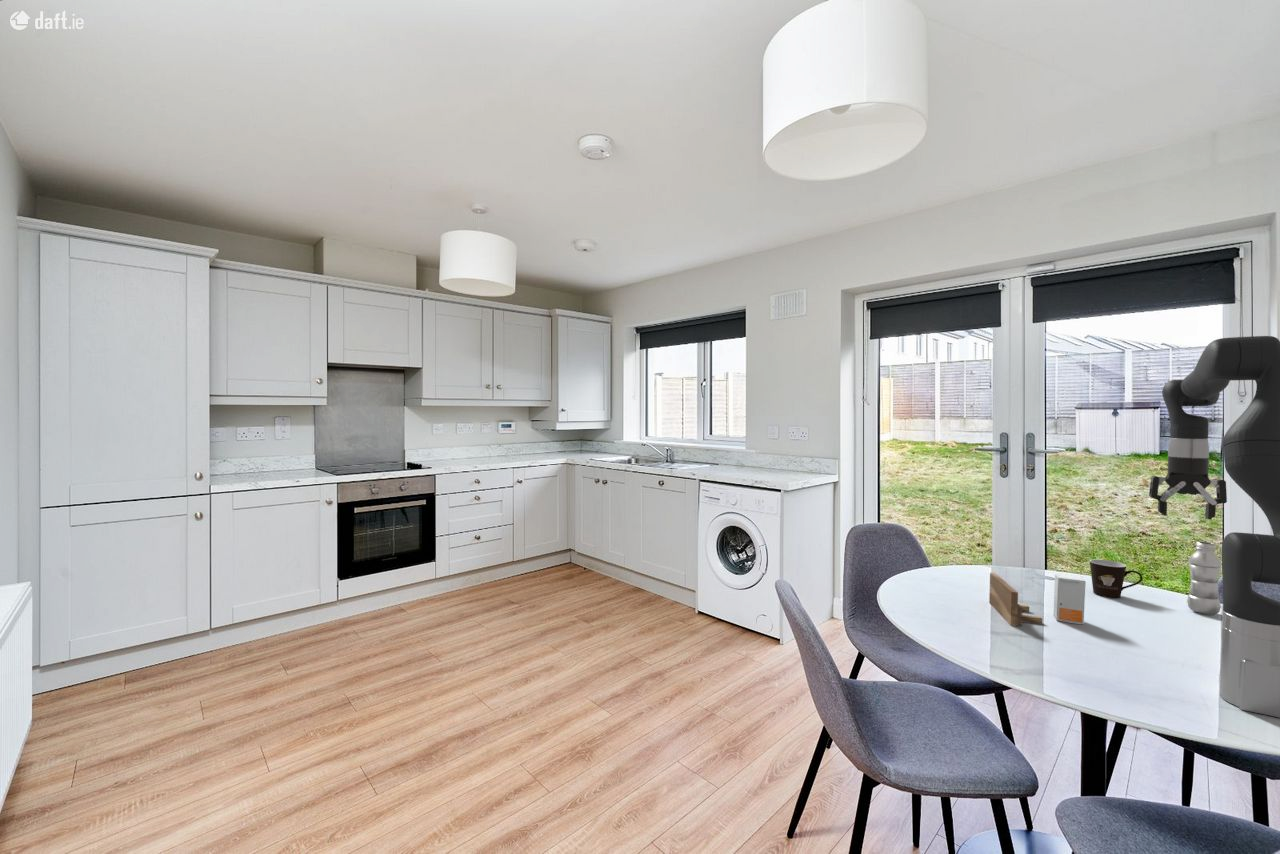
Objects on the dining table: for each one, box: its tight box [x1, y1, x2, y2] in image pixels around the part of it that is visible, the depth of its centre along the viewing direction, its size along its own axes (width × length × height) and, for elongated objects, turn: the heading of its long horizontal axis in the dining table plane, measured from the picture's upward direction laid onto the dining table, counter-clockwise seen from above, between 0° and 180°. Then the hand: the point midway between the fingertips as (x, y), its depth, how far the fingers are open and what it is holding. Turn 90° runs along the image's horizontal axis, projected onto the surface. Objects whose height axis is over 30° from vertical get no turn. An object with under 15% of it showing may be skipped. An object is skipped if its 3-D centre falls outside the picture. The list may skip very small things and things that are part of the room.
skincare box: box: [1053, 573, 1086, 625], centre depth 147 cm, size 6×4×12 cm
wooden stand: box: [988, 572, 1043, 627], centre depth 151 cm, size 8×18×9 cm, turn 163°
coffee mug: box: [1089, 558, 1144, 600], centre depth 167 cm, size 12×9×10 cm
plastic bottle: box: [1186, 541, 1222, 616], centre depth 153 cm, size 6×7×20 cm
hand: (1185, 517), depth 143 cm, fingers open, 8 cm apart
